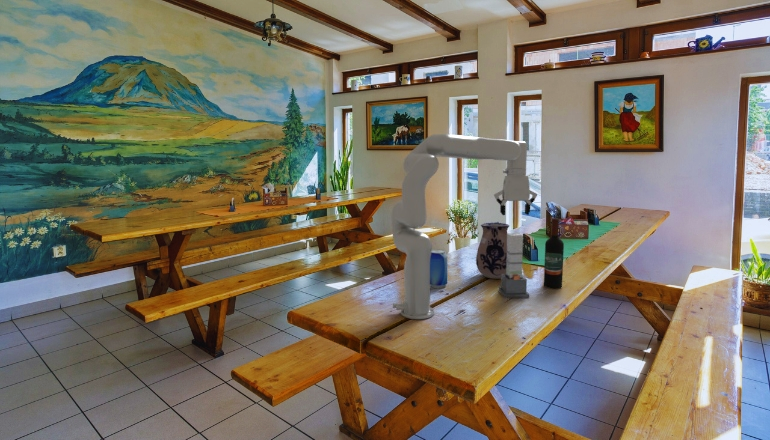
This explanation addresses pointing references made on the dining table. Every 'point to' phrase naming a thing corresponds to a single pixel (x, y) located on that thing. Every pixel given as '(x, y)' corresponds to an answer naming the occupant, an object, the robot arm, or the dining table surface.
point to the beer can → (438, 268)
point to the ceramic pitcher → (493, 250)
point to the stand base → (513, 287)
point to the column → (514, 254)
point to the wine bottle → (554, 258)
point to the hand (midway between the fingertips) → (515, 214)
